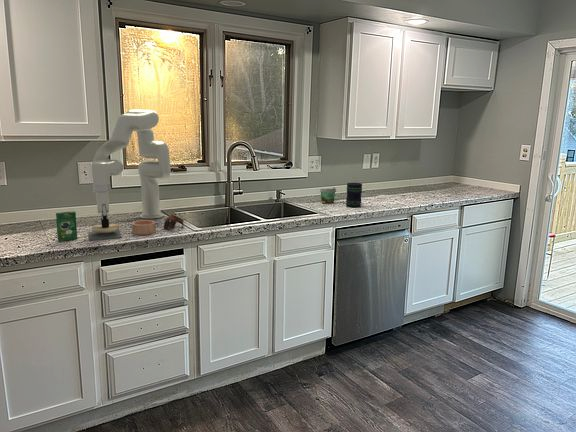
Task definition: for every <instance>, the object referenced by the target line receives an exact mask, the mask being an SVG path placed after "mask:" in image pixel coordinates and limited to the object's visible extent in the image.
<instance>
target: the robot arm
mask: <svg viewBox="0 0 576 432" xmlns="http://www.w3.org/2000/svg"><path fill="white" fill-rule="evenodd" d="M159 117H160V116H159V114H158V113H157V112H156V111H155V110H151V109H129V110H127V111H126V112H125V113H122V114H120V115H119V116H118V118H117V120H116V122H115V126H114V128H113V131H112V135H111V137H110V139H108V140H107V141H105V142H104V143H103V144H102V145H101V146H100V147H99V148H98V149H97V150H96V151H95V155H94V158H93V160H92V163H91V164H90V167H91V168H90V169H91V177H92V178H91V179H92V180H91V181H92V187H93V193H95V199H96V209H97V210H96V211H97V213H98V214H100V215H101V216H100V220H101V221H100V222H101V224H102V228H104V227H109V224H110V221H109V214H108V213H110V198H109V193H110V192H112V190H111V189H112V188H111V176H113V177H114V176H119V175H121V174H122V173H123V171H124V164H123V162H121V160H118V159H111V158H109V159H108V157H109V156H110V155H112V154H114V153H115V152H118V151H121V150H123V149H125V148H127V147H129V143H130V140H131V137H132V134H133V132H136V136H137V143H138V151H139V155H140V157H141V158H143V159H148V160H142V161H141V162H139V164H138V165H137V171H138V174H139V179H140V189H141V209H142V213H139V217H140V218H141V219H144V220H152V219H159V218H162V217H163V216H164V214H163V213H162V212H161V207H160V206H161V205H160V185H159V182H158V180H157V179H161V180H162V179H165V180H166V179H168V178H169V177H170V175H171V159H170V158H171V157H170V149H169V146H168V145H167V142H164V141H161V140H160V141H159V140H155V135H154V131H153V128H155V127H156V126H158V124H159V120H160V118H159ZM149 159H152V160H149Z"/></svg>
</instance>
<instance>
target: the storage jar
mask: <svg viewBox="0 0 576 432" xmlns="http://www.w3.org/2000/svg"><path fill="white" fill-rule="evenodd" d="M362 192H363V184H362V182H361V183H360V182H347V183H346V200H345V204H346V205H345V206H346V207H347V208H350V209H359V208H361V207H362Z"/></svg>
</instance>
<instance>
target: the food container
mask: <svg viewBox="0 0 576 432" xmlns="http://www.w3.org/2000/svg"><path fill="white" fill-rule="evenodd" d="M319 192H320V199H321V200H320V203H321V204H324V205H333V204H334V203H335V195H336V192H337V188H336V187H333V188H326V189H325V188H320V191H319Z"/></svg>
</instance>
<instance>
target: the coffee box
mask: <svg viewBox="0 0 576 432" xmlns="http://www.w3.org/2000/svg"><path fill="white" fill-rule="evenodd" d="M55 216H56V217H55V218H56V221H55V222H56V233H57V241H58V242H59V243H60V242H66V241H73V240H77V239H78V231H77V230H78V229H77V227H78V226H77V214H76V211H74V210H70V211H63V212H55Z"/></svg>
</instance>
